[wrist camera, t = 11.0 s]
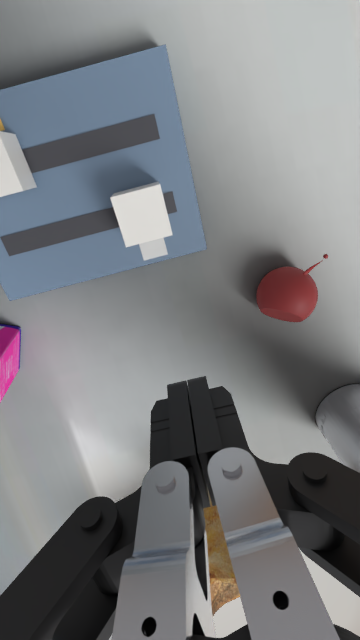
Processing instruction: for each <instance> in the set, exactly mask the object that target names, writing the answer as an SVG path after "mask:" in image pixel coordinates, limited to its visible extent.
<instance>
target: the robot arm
mask: <svg viewBox="0 0 360 640" xmlns="http://www.w3.org/2000/svg"><path fill="white" fill-rule="evenodd" d="M187 382H188V386H187ZM187 382H186V381H182V382H178V383H173V384H169V385H167V390H168V399H163V400H159V401H156V403H155V405H154V407H153V409H152V411H151V438H150V470H149V471H148V472H147V474H146V475H145V477H144V479H143V482H142V486H141V487H140V488H139V489H138V490H137V491H135V492H134V493H133V494H131V495H129V496H127V497H126V498H124V499H122V500H120V501H118V502H116V503H114V502H113V501H112V500H111V499H110V498H107V497H95V498H92V499H89V500H87V501H86V502H84V503H83V504H82V505H80V506H79V507H78V508H77V509H76V510H75V511H74V513H73V514H72V515H71V516H70V517H69V518H68V519H67V521H66V522H65V523H64V524H63V525H62V526H61V527H60V529H59V530H58V531H57V532H56V533H55V534H54V535H53V536H52V538H51V539H50V540H49V541H48V542H47V543H46V544H45V546H44V547H43V548H42V549H41V550H40V551H39V552H38V554H37V555H36V556H35V557H34V558H33V559H32V560H31V562H30V563H29V564H28V565H27V566H26V567H25V568H24V570H23V571H22V572H21V573H20V574H19V575H18V576H17V577H16V579H15V580H14V581H13V582H12V583H11V584H10V585H9V587H8V588H7V589H6V590H5V591H4V592H3V593H2V595H1V596H0V640H109V638H110V636H111V635H112V640H360V637H359V636H357V635H355V634H354V633H352V632H350V631H349V630H347V629H344V628H342V627H340V626H337V625H335V624H333V623H332V621H331V619H330V617H329V614H328V612H327V610H326V608H325V605H324V603H323V601H322V599H321V597H320V594H319V592H318V590H317V588H316V586H315V583H314V581H313V579H312V577H311V574H310V572H309V570H308V568H307V566H306V564H305V561H304V559H303V557H302V555H301V552H300V550H301V551H302V552H303V553H304V554H305V555H306V556H307V557H308V558H310V559H311V560H312V561H314V562H315V563H316V564H318V565H319V566H320V567H321V568H323V569H324V570H325V571H327V572H328V573H329V574H331V575H332V576H333V577H334V578H336V579H337V580H338V581H340V582H341V583H342V584H344V585H345V586H346V587H347V588H349V589H350V590H351V591H353V592H354V593H355V594H356V595H358V596H359V597H360V384H352V385H348V386H344V387H341V388H339V389H337V390H335V391H334V392H332V393H330V394H329V395H328V396H327V397H326V398H325V399H324V400H323V401H322V402H321V404H320V405H319V407H318V409H317V412H316V423H317V425H318V427H319V429H320V430H321V432H322V434H323V435H324V437H325V438H326V440H327V441H328V443H329V444H330V446H331V447H332V449H333V450H334V452H335V453H336V455H337V457H338V458H339V460H340V461H341V463H342V464H341V463H339V462H337V461H335V460H333V459H331V458H329V457H327V456H325V455H322V454H319V453H303V454H300V455H298V456H296V457H294V458H293V459H292V460H291V461H290V463H289V465H286V464H274V463H269V462H265V461H263V460H261V459H259V458H257V457H256V456H255V455H254V454H253V453H252V452H251V451H250V449H249V447H248V444H247V441H246V438H245V435H244V432H243V429H242V426H241V423H240V420H239V417H238V414H237V411H236V408H235V406H234V402H233V399H232V396H231V394H230V393H229V392H228V391H227V390H226V389H225V388H224V387H223V386H221V387H216V388H212V389H209V388H208V384H207V380H206V376H204V377H199V378H195V379H190V380H187ZM208 491H209V494H208ZM209 495H210V499H211V502H212V506H215V505H217V509H218V513H219V517H220V521H221V524H222V528H223V532H224V536H225V540H226V544H227V548H228V551H229V555H230V559H231V563H232V567H233V571H234V574H235V578H236V582H237V586H238V590H239V593H240V597H241V601H242V605H243V608H244V612H245V616H246V620H247V625H245V626H243V627H242V628H240V629H238V630H237V631H235V632H233V633H232V634H230V635H228V636H226V637H224V638H216V632H215V626H214V620H213V614H212V607H211V593H210V578H209V563H208V548H207V534H206V530H205V527H206V526H205V517H204V510H203V508H207V507H211V506H210V500H209ZM298 547H299V548H298ZM299 549H300V550H299Z"/></svg>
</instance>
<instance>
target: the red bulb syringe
mask: <svg viewBox="0 0 360 640" xmlns="http://www.w3.org/2000/svg"><path fill="white" fill-rule="evenodd" d="M323 257H324V258H325V259H326V258H328V255H327V254H325V255H324V256H323ZM320 262H321V261H320ZM320 262H319V263H320ZM319 263H317V264H315V265H313V266H312V267H310V268H309V269H307V270H306V271H303V270H301V269H299V268H295V267H280V268H277V269H274V270H272V271H271V272H269V273H268V274H267V275H266V276H265V277H264V278H263V279H262V280H261V282H260V284H259V286H258V289H257V295H256V298H257V304H258V307H259V309H260V311H261V312H262V313H263V314H265V315H267V316H270V317H273V318H276V319H279V320H283V321H289V322H301V321H303V320H304V319H306V318H307V317H308V316H309V315H310V314H311V313H312V312H313V310H314V308H315V306H316V303H317V299H318V291H317V287H316V284H315V282H314V280H313V279H312V278H311V276H310V275H309V274H308V273H309V272H310V271H311V270H312V269H313V268H314V267H315V266H316V265H318V264H319Z"/></svg>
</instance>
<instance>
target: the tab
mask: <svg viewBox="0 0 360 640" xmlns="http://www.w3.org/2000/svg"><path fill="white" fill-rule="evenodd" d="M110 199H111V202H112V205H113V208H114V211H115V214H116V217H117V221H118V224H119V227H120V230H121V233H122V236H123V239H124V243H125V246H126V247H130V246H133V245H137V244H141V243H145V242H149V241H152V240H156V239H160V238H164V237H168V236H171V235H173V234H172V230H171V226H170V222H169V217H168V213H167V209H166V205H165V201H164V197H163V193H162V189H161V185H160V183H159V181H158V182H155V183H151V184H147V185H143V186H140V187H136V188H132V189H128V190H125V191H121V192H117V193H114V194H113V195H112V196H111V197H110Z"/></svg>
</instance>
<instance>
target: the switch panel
mask: <svg viewBox="0 0 360 640" xmlns="http://www.w3.org/2000/svg"><path fill="white" fill-rule="evenodd" d="M0 131H2V132H7V133H12V134H16V137H17V139H18V142H19V144H20V147H21V149H22V152H23V154H24V156H25V159H26V161H27V164H28V166H29V169H30V171H31V173H32V176H33V178H34V181H35V183H36V186H37V187H36V188H32V189H29V190H25V191H21V192H17V193H14V194H10V195H6V196H3V197H0V284H1V286H2V287H3V289H4V291H5V293H6V295H7V297H8V299H9V301H12V300H15V299H19V298H23V297H27V296H31V295H34V294H38V293H42V292H46V291H50V290H53V289H57V288H61V287H65V286H69V285H72V284H76V283H80V282H84V281H88V280H91V279H95V278H99V277H103V276H107V275H110V274H114V273H118V272H122V271H126V270H130V269H133V268H137V267H141V266H145V265H149V264H152V263H156V262H160V261H164V260H168V259H171V258H175V257H179V256H183V255H187V254H190V253H194V252H198V251H202V250H206V249H207V247H206V242H205V237H204V232H203V227H202V222H201V217H200V212H199V207H198V202H197V197H196V192H195V187H194V182H193V177H192V172H191V167H190V163H189V158H188V153H187V148H186V143H185V138H184V133H183V128H182V123H181V118H180V113H179V108H178V103H177V98H176V93H175V88H174V84H173V79H172V74H171V69H170V64H169V59H168V54H167V49H166V44H165V45H162V46H158V47H154V48H151V49H147V50H144V51H140V52H136V53H133V54H129V55H125V56H122V57H118V58H114V59H111V60H107V61H103V62H100V63H96V64H93V65H89V66H85V67H82V68H78V69H74V70H71V71H67V72H63V73H60V74H56V75H52V76H49V77H45V78H42V79H38V80H34V81H31V82H27V83H23V84H20V85H16V86H12V87H9V88H5V89H2V90H0ZM158 181H159V183H160V185H161V189H162V193H163V197H164V201H165V205H166V209H167V213H168V217H169V222H170V226H171V230H172V234H173V235H171V236H168V237H164V238H160V239H156V240H152V241H149V242H145V243H141V244H137V245H133V246H130V247H126V246H125V243H124V239H123V236H122V233H121V230H120V227H119V224H118V221H117V217H116V214H115V211H114V208H113V205H112V202H111V199H110V197H111V196H112V195H113V194H114V193H117V192H121V191H125V190H128V189H132V188H136V187H140V186H143V185H147V184H151V183H155V182H158Z"/></svg>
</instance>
